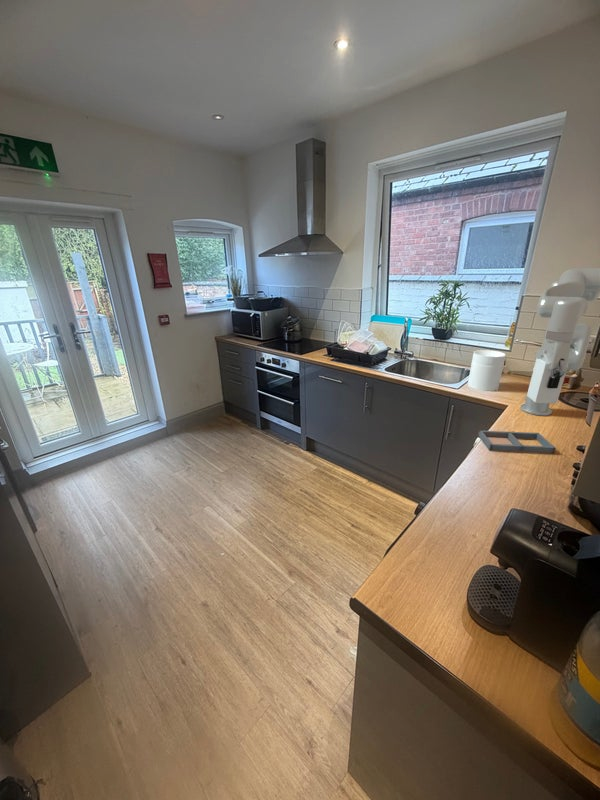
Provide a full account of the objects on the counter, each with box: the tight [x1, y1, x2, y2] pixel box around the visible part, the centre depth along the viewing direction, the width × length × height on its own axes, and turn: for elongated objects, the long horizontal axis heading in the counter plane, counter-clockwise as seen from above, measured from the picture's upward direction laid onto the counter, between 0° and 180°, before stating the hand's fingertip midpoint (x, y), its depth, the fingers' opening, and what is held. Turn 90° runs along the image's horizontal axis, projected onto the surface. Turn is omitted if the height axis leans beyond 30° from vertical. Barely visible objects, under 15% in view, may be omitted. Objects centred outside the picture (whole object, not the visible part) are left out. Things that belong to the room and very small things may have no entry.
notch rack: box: [477, 430, 557, 455], centre depth 130 cm, size 12×23×2 cm, turn 82°
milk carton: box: [526, 350, 568, 405], centre depth 119 cm, size 7×7×19 cm
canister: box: [467, 349, 507, 392], centre depth 188 cm, size 16×16×20 cm
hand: (545, 383), depth 120 cm, fingers closed on milk carton, 7 cm apart
